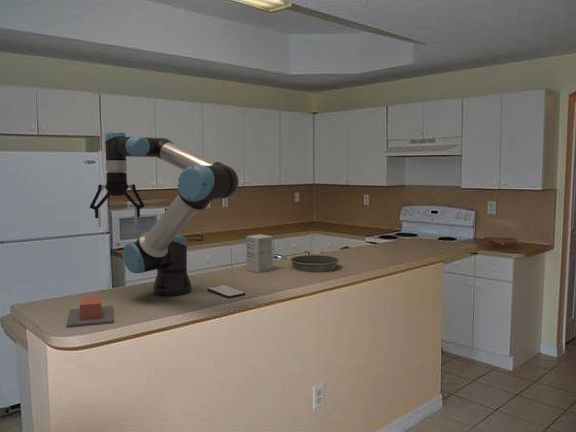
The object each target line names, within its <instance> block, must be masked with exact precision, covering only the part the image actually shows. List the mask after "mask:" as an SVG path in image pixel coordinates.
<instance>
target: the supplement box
mask: <svg viewBox="0 0 576 432" xmlns="http://www.w3.org/2000/svg"><path fill="white" fill-rule="evenodd" d="M245 240H246V250H245V251H246V271H249V272H253V273H256V274H261V273H266V272H270V271H273V236H271V235H266V234H262V233H260V234H255V235H254V234H253V235H247V236H246V237H245Z"/></svg>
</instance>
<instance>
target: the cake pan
mask: <svg viewBox="0 0 576 432" xmlns="http://www.w3.org/2000/svg"><path fill="white" fill-rule="evenodd" d="M289 261H290V262H291V264H292V268H293V269H294V270H297V271H301V272H307V273H324V272H331V271H332V272H333V271H334V270H336V268H337V263H339V262H340V260H339V258H338V257H334V256H331V255H330V256H329V255H325V254H323V255H322V254H306V255H298V256H293V257H291V258H289Z"/></svg>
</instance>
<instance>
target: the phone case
mask: <svg viewBox="0 0 576 432" xmlns="http://www.w3.org/2000/svg"><path fill="white" fill-rule="evenodd" d="M206 289H207V292H209V293H211V294H214V295H217V296H219V297H222V298H226V299H234V298H235V299H236V298H238V297H244V296H246V292H245V291H242V290H239V289H236V288H234V287H232V286H228V285H226V284H220V285H216V286H211V287H207V288H206Z"/></svg>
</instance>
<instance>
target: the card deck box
mask: <svg viewBox="0 0 576 432" xmlns="http://www.w3.org/2000/svg"><path fill="white" fill-rule="evenodd" d="M79 302H80V303H79V309H80V320H88V319H98V318H102V307H103V306H102V296H101V295H96V296H93V295H91V296H82V297H80V301H79Z"/></svg>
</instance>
